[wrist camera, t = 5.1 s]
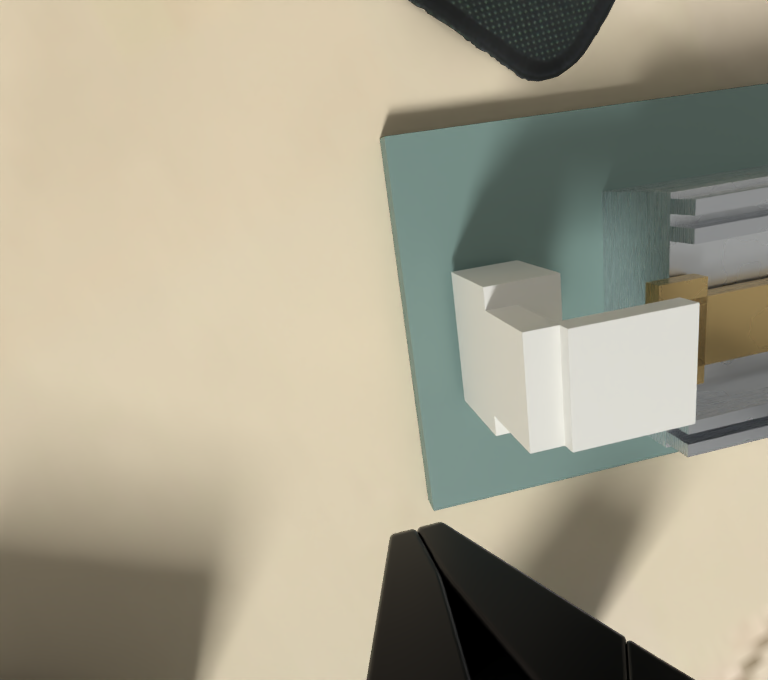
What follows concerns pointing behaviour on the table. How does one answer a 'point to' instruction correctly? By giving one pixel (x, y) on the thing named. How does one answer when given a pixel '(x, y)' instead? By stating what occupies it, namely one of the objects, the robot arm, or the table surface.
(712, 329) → the tan flat bar
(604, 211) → the heatsink
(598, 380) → the clip
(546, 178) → the board
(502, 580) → the robot arm
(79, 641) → the table surface
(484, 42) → the mouse mat
